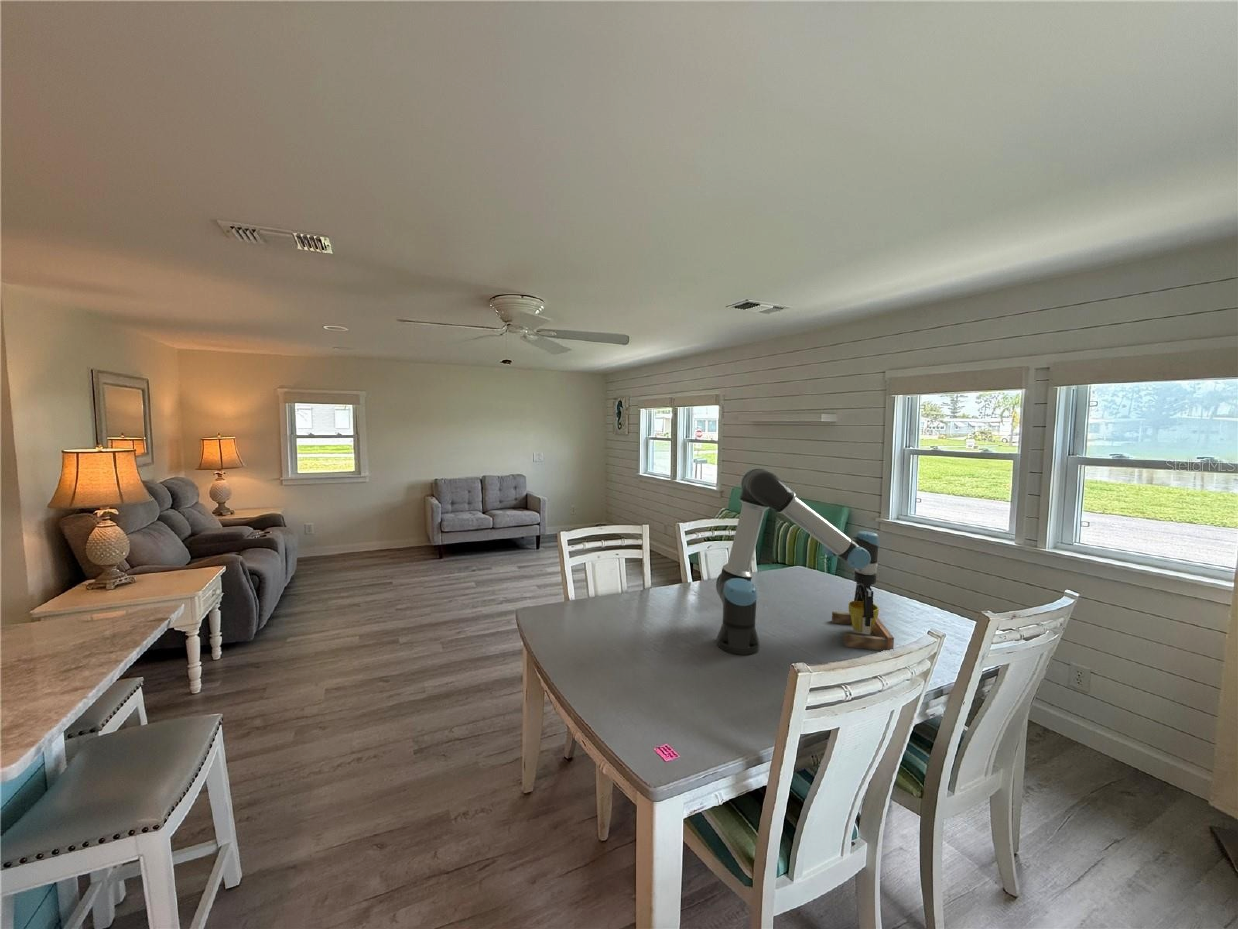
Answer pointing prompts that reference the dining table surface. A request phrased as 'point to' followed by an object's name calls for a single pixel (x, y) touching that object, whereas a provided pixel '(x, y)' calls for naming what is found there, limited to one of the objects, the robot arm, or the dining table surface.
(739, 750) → the dining table surface
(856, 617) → the plant pot
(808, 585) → the dining table surface
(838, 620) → the docking bay
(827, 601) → the dining table surface
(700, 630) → the dining table surface
